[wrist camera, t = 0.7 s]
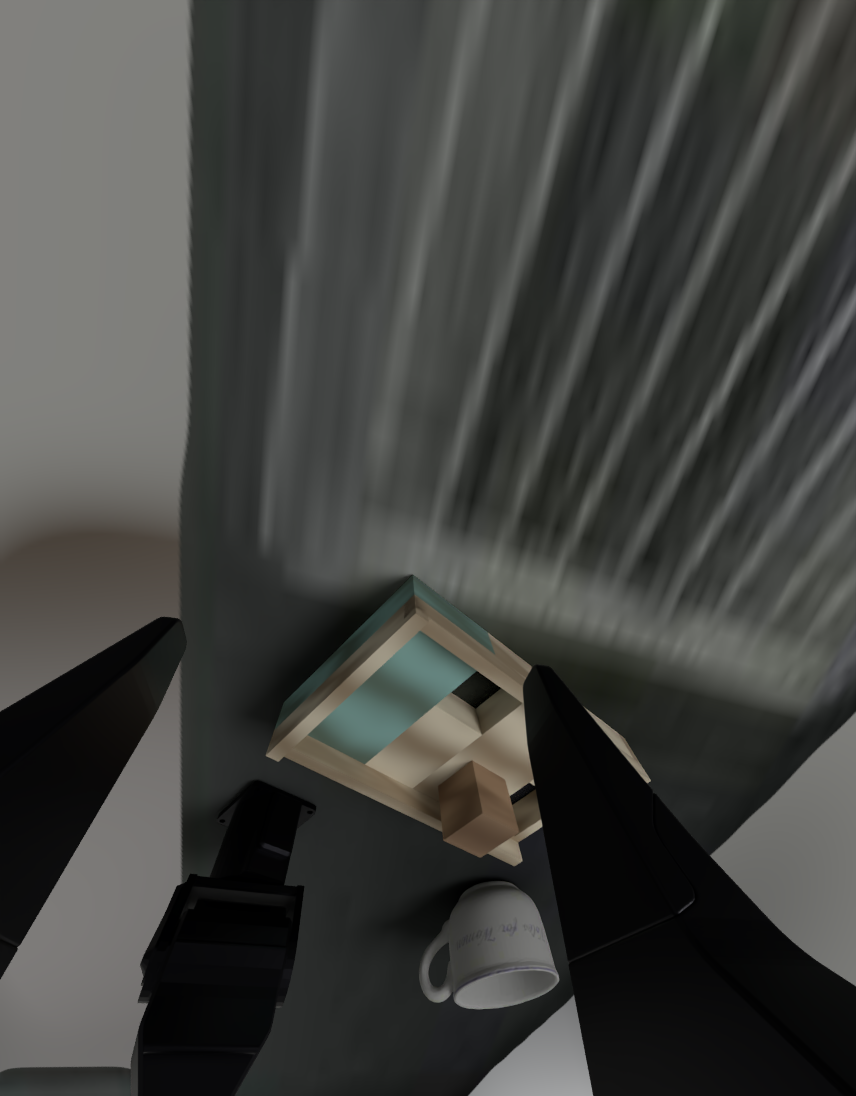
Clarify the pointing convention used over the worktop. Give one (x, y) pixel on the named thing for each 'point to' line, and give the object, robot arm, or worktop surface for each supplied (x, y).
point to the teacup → (492, 950)
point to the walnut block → (476, 810)
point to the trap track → (416, 712)
